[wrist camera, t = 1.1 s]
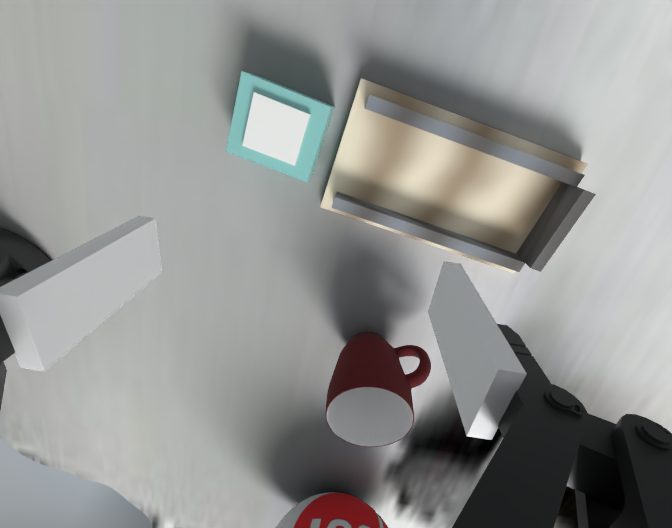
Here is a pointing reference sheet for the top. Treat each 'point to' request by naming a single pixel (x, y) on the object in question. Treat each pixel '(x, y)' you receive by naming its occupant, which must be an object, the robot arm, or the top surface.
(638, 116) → the top surface
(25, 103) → the top surface
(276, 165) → the block
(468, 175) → the rail mount
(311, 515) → the decorative sphere
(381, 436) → the mug
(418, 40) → the top surface
